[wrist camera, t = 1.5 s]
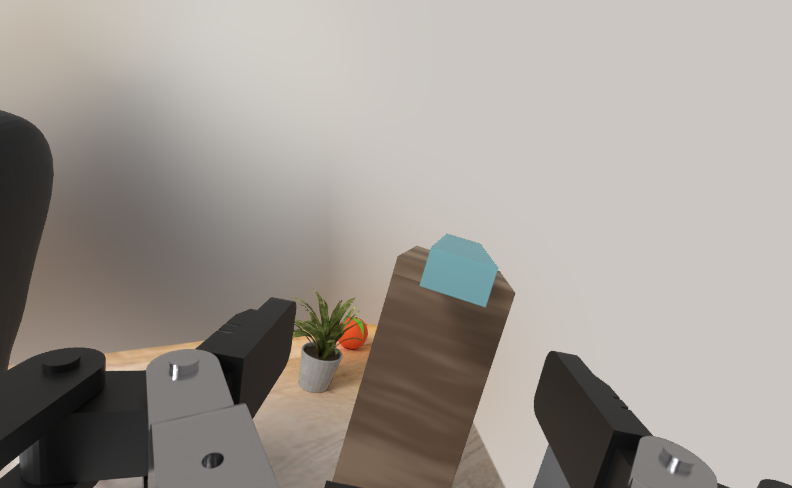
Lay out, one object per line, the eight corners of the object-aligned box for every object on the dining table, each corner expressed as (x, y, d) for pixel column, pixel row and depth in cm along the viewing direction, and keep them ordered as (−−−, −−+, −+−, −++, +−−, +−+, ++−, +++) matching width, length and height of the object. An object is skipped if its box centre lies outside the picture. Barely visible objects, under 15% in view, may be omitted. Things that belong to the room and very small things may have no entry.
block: (485, 307, 21) (498, 267, 21) (419, 285, 22) (430, 247, 22) (474, 263, 43) (480, 243, 43) (440, 253, 44) (446, 233, 43)
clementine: (370, 356, 82) (379, 326, 81) (343, 357, 78) (352, 325, 77) (354, 340, 88) (362, 312, 87) (328, 339, 84) (336, 310, 83)
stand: (410, 608, 33) (515, 293, 30) (309, 561, 35) (397, 256, 31) (425, 500, 46) (499, 271, 42) (350, 469, 47) (416, 245, 44)
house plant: (297, 352, 74) (318, 275, 72) (361, 377, 71) (384, 298, 69) (256, 382, 60) (280, 288, 58) (333, 415, 57) (361, 317, 56)
